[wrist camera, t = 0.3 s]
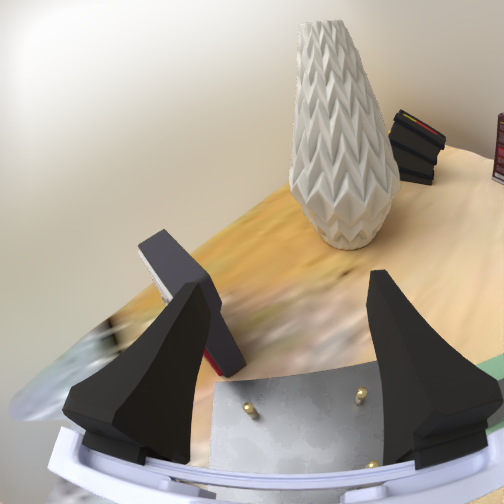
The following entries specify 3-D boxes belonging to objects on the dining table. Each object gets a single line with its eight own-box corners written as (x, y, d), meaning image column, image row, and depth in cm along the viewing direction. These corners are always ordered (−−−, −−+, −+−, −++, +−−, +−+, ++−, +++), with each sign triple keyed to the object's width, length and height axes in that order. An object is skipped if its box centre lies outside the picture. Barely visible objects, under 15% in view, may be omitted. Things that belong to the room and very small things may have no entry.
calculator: (182, 328, 40) (130, 247, 30) (206, 312, 41) (163, 227, 32) (222, 383, 32) (165, 302, 23) (251, 362, 33) (209, 273, 24)
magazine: (373, 163, 60) (399, 107, 48) (422, 193, 57) (454, 141, 45) (369, 170, 58) (396, 112, 46) (420, 201, 55) (454, 147, 43)
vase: (360, 195, 54) (339, 23, 34) (416, 242, 41) (415, 19, 21) (283, 224, 53) (237, 36, 33) (327, 283, 40) (284, 19, 20)
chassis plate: (417, 494, 17) (428, 492, 14) (209, 516, 20) (195, 516, 17) (391, 361, 29) (396, 345, 27) (217, 385, 32) (207, 372, 30)
